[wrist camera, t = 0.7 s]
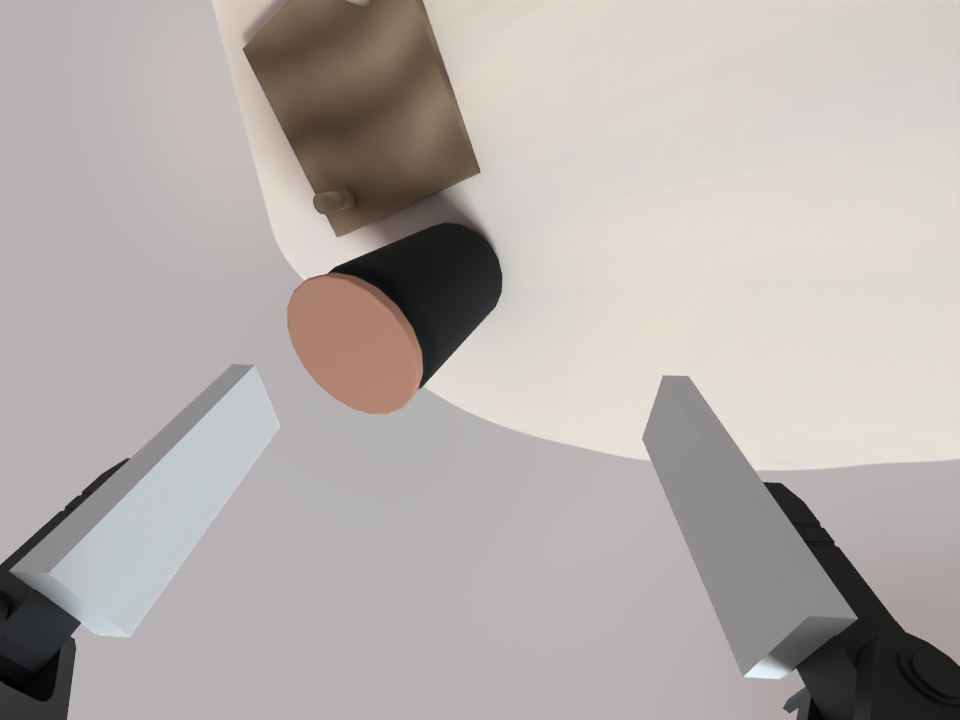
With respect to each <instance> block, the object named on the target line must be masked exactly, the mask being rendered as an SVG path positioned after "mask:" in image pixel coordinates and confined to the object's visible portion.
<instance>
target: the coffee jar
mask: <svg viewBox="0 0 960 720" xmlns="http://www.w3.org/2000/svg"><path fill="white" fill-rule="evenodd" d="M501 292H502V272H501V268H500V264H499V260H498V258H497V256H496V254H495V253H494V251H493V249H492V248H491V246H490V244H489V243H488V242H487V241H485V240H484V239H483V238H482V237H481V236H480V235H479V234H478V233H477V232H475V231H473V230H471V229H469V228H467V227H465V226H463V225H459V224H450V223H443V224H440V225H436V226H432V227H429V228H427V229H425V230H422V231H420V232H417V233H415V234H413V235H410V236H408V237H406V238H403V239H401V240H398V241H396V242H394V243H391V244H389V245H386V246H384V247H382V248H379V249H377V250H375V251H372V252H370V253H367V254H365V255H363V256H360V257H358V258H355V259H353V260H351V261H348V262H346V263H344V264H341V265H339V266H336V267H335V268H334V269H332V270H331V271H330V272H329V273H328V274H324V275H320V276H316V277H312V278H309V279H307V280H306V281H305V282H303V283H302V284H301V285H300V286H299V287H298V288H297V289H295V291H294V292H293V295H292V297H291V300H290V302H289V305H288V330H289V333H290V337H291V340H292V344H293V347H294V349H295V351H296V353H297V355H298V356H299V358H300V360H301V362H302V364H303V365H304V367H305V368H306V369H307V371H308V372H309V373H310V375H311V376H312V377H313V378H314V380H315V381H316V382H317V383H318V384H319V385H320V386H321V387H322V388H323V389H325V390H326V391H327V392H328V393H329V394H330V395H331V396H333V397H334V398H335V399H337V400H339V401H340V402H342V403H344V404H346V405H347V406H349V407H351V408H353V409H356V410H360V411H363V412H366V413H369V414H388V413H390V412H393V411H395V410H398V409H401V408H403V407H404V406H405V405H406V404H407V403H408V401H409V400H410V399H411V398H412V397H413V396H414V395H415V393H416V392H417V390H418V389H420V388H422V387H423V385H424V384H425V383H426V382H427V381H428V380H429V379H430V378H431V377H432V376H433V375H434V373H435V372H436V371H437V370H438V369H439V368H440V367H441V366H442V365H443V364H444V362H445V361H446V360H447V359H448V358H449V357H450V356H451V355H452V354H453V353H454V352H455V350H456V349H457V348H458V347H459V346H460V345H461V344H462V343H463V342H464V341H465V339H466V338H467V337H468V336H469V335H470V334H471V333H472V332H473V331H474V330H475V329H476V327H477V326H478V325H479V324H480V323H481V322H482V321H483V320H484V319H485V318H486V316H487V315H488V314H489V313H490V312H491V311H492V310H493V309H494V308H495V307H496V305H497V302H498V300H499V297H500V295H501Z"/></svg>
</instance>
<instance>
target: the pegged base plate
mask: <svg viewBox="0 0 960 720" xmlns="http://www.w3.org/2000/svg"><path fill="white" fill-rule="evenodd" d="M243 51H244V53H245V55H246V57H247V59H248V61H249V63H250V65H251V67H252V69H253V71H254V73H255V75H256V77H257V79H258V81H259V83H260V85H261V87H262V89H263V91H264V93H265V95H266V97H267V99H268V101H269V103H270V105H271V107H272V109H273V111H274V113H275V115H276V117H277V119H278V121H279V123H280V125H281V127H282V129H283V131H284V133H285V135H286V137H287V139H288V141H289V143H290V145H291V147H292V149H293V151H294V153H295V155H296V157H297V159H298V161H299V163H300V165H301V167H302V169H303V171H304V173H305V175H306V177H307V179H308V181H309V183H310V185H311V187H312V189H313V190H314V192H315V194H316V195H315V196H314V198H313V204H314V207H315V209H316V210H317V211H318V212H319V213H321V214H326V216H327V218H328V220H329V222H330V224H331V226H332V228H333V230H334V232H335V234H336V236H337V237H340V236H343V235H346V234H348V233H350V232H353V231H355V230H357V229H359V228H361V227H363V226H366V225H368V224H370V223H372V222H374V221H376V220H379V219H381V218H383V217H385V216H387V215H389V214H392V213H394V212H396V211H398V210H400V209H402V208H405V207H407V206H409V205H411V204H413V203H415V202H418V201H420V200H422V199H424V198H426V197H428V196H431V195H433V194H435V193H437V192H439V191H442V190H444V189H446V188H448V187H450V186H452V185H455V184H457V183H459V182H461V181H463V180H465V179H468V178H470V177H472V176H474V175H476V174H478V173H481V172H480V169H479V166H478V163H477V160H476V157H475V154H474V151H473V148H472V145H471V142H470V139H469V136H468V133H467V131H466V128H465V125H464V122H463V119H462V116H461V113H460V110H459V107H458V104H457V101H456V98H455V95H454V92H453V89H452V86H451V83H450V80H449V77H448V74H447V71H446V69H445V66H444V63H443V60H442V57H441V54H440V51H439V48H438V45H437V42H436V39H435V36H434V33H433V30H432V27H431V24H430V21H429V18H428V15H427V12H426V9H425V7H424V4H423V1H422V0H290V1H289V2H288V3H287V4H286V5H285V6H284V7H283V8H282V9H281V10H280V11H279V12H278V13H277V14H276V15H275V16H274V17H273V18H272V19H271V21H270V22H269V23H268V24H267V25H266V26H265V27H264V28H263V29H262V30H261V31H260V32H259V33H258V34H257V35H256V36H255V37H254V38H253V39H252V40H251V41H250V42H249V43H248V44H247V45H246V46H245V47H244V48H243Z"/></svg>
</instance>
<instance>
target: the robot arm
mask: <svg viewBox="0 0 960 720" xmlns="http://www.w3.org/2000/svg"><path fill="white" fill-rule="evenodd" d="M279 428H280V424H279V422H278V419H277V417H276V414H275V412H274V409H273V407H272V405H271V402H270V400H269V398H268V395H267V393H266V390H265V388H264V385H263V383H262V381H261V379H260V376H259V374H258V371H257V369H256V366H255V365H235V364H232V365H231V366H230V367H229V368H228V369H227V370H226V371H225V372H224V373H223V374H222V375H221V376H219V378H217V379H216V380H215V381H214V382H213V383H212V384H211V385H210V386H209V387H208V388H207V389H205V390H204V391H203V392H202V393H201V394H200V395H199V396H198V397H197V398H196V399H195V400H194V401H192V402H191V403H190V404H189V405H188V406H187V407H186V408H185V409H184V410H183V411H182V412H180V413H179V414H178V416H176V417H175V418H174V419H173V420H172V421H171V422H170V423H169V424H168V425H166V426H165V427H164V428H163V429H162V430H161V431H160V432H159V433H158V434H157V435H156V436H154V437H153V438H152V439H151V440H150V441H149V442H148V443H147V444H146V445H145V446H144V447H143V448H141V449H140V450H139V451H138V452H137V453H136V454H135V455H134V456H133V457H132V458H129V459H125V460H124V461H122V462H120V463H119V464H117V465H116V466H114V467H112V468H111V469H109V470H107V471H106V472H104V473H103V474H101V475H100V476H99V477H98V478H97V479H96V480H95V481H94V482H92V483H91V484H90V485H89V486H88V487H87V488H86V489H85V490H83V492H82V495H80V496H77V497H76V498H75V499H74V500H72V501H71V502H70V503H69V504H68V505H67V506H66V507H65V510H64V511H60V512H59V513H58V514H57V515H56V516H54V517H53V518H52V519H51V520H50V521H49V522H48V523H47V524H46V525H44V526H43V527H42V528H41V529H40V530H39V531H38V532H37V533H35V534H34V535H33V536H32V537H31V538H30V539H29V540H28V541H27V542H25V543H24V545H22V546H21V547H20V548H19V549H18V550H17V551H15V552H14V553H13V554H12V555H11V556H10V557H9V558H8V559H6V560H5V561H4V562H3V563H2V564H1V565H0V720H67V715H68V707H69V699H70V691H71V683H72V675H73V668H74V660H75V652H76V645H75V639H74V638H72V637H71V635H72V633H73V632H74V631H75V630H76V628H77V627H78V626H79V625H80V624H83V625H84V626H85V627H87V628H88V629H89V630H91V631H92V632H94V633H95V634H96V635H104V636H119V637H130V636H131V635H132V634H133V632H134V631H135V629H136V628H137V627H138V625H139V624H140V622H141V621H142V620H143V618H144V617H145V615H146V614H147V613H148V611H149V610H150V608H151V607H152V605H153V604H154V603H155V601H156V600H157V599H158V597H159V596H160V594H161V593H162V591H163V590H164V589H165V587H166V586H167V584H168V583H169V582H170V580H171V579H172V578H173V576H174V575H175V573H176V572H177V571H178V569H179V568H180V566H181V565H182V563H183V562H184V561H185V559H186V558H187V557H188V555H189V554H190V552H191V551H192V550H193V548H194V546H195V545H196V544H197V542H198V541H199V540H200V538H201V537H202V536H203V534H204V533H205V531H206V530H207V529H208V527H209V526H210V524H211V523H212V521H213V520H214V519H215V517H216V516H217V515H218V513H219V512H220V510H221V509H222V508H223V506H224V505H225V503H226V502H227V500H228V499H229V498H230V496H231V495H232V494H233V492H234V491H235V490H236V488H237V487H238V485H239V484H240V482H241V481H242V480H243V478H244V477H245V476H246V474H247V472H248V471H249V470H250V469H251V467H252V465H253V464H254V463H255V462H256V460H257V459H258V457H259V456H260V455H261V453H262V452H263V450H264V449H265V448H266V446H267V445H268V443H269V442H270V440H271V439H272V437H273V436H274V435H275V434H276V432H277V431H278V429H279ZM642 439H643V442H644V444H645V446H646V449H647V451H648V454H649V456H650V458H651V461H652V463H653V465H654V468H655V470H656V472H657V475H658V477H659V480H660V482H661V484H662V487H663V489H664V491H665V494H666V496H667V498H668V501H669V503H670V505H671V508H672V510H673V512H674V515H675V517H676V520H677V522H678V524H679V526H680V529H681V531H682V534H683V536H684V538H685V541H686V543H687V545H688V548H689V550H690V553H691V555H692V557H693V560H694V562H695V564H696V567H697V569H698V572H699V574H700V576H701V579H702V581H703V583H704V586H705V588H706V590H707V593H708V595H709V597H710V600H711V602H712V605H713V607H714V609H715V612H716V614H717V616H718V619H719V621H720V624H721V626H722V628H723V631H724V633H725V635H726V638H727V640H728V642H729V645H730V647H731V649H732V652H733V654H734V657H735V659H736V661H737V664H738V666H739V668H740V671H741V673H742V675H743V677H754V678H769V679H783V678H784V677H786V676H787V675H788V674H789V673H791V672H792V671H793V670H795V668H797V670H798V672H799V674H800V676H801V678H802V680H803V681H804V684H805V685H806V687H804V688H803V689H802V690H800V691H799V692H797V693H796V694H795V695H793V696H792V697H791V698H789V699H788V700H787V702H786V704H785V706H784V707H783V709H785V710H786V711H787V712H789V713H791V712H792V711H794V710H795V709H797V708H798V707H799V708H798V714H797V720H960V666H959V665H957V664H956V663H955V662H954V661H953V660H952V659H951V658H950V657H949V656H947V655H946V654H944V653H943V652H941V651H940V650H938V649H937V648H936V647H934V646H933V645H931V644H930V643H928V642H926V641H924V640H922V639H919V638H917V637H915V636H913V635H911V634H909V633H906V632H905V631H904V630H903V629H902V627H901V626H900V625H899V624H898V623H897V622H896V621H895V619H894V618H893V617H892V616H891V614H890V613H889V612H888V610H887V609H886V608H885V607H884V605H883V604H882V603H881V601H880V600H879V599H878V597H877V596H876V595H875V594H874V592H873V591H872V590H871V588H870V587H869V586H868V585H867V583H866V582H865V581H864V579H863V578H862V577H861V576H860V574H859V573H858V572H857V570H856V569H855V568H854V566H853V565H852V564H851V562H850V561H849V560H848V559H847V557H846V556H845V555H844V553H843V552H842V551H841V549H840V548H839V547H836V546H835V544H834V540H833V539H832V538H831V537H830V535H829V534H828V533H827V531H826V530H825V529H824V528H821V526H820V522H819V521H818V520H817V519H816V517H815V516H814V514H813V513H812V512H811V511H810V510H809V508H808V507H807V505H806V504H805V503H804V502H803V501H802V500H801V499H800V498H798V497H797V496H796V495H795V494H793V493H792V492H791V491H790V490H789V489H787V488H786V487H785V486H784V485H783V484H781V483H768V482H762V481H761V479H760V478H759V476H758V475H757V474H756V472H755V471H754V469H753V468H752V466H751V465H750V464H749V462H748V461H747V459H746V458H745V456H744V455H743V454H742V452H741V451H740V449H739V448H738V446H737V445H736V444H735V442H734V441H733V439H732V438H731V436H730V435H729V434H728V432H727V431H726V429H725V428H724V426H723V425H722V424H721V422H720V421H719V419H718V418H717V416H716V415H715V414H714V412H713V411H712V409H711V408H710V406H709V405H708V404H707V402H706V401H705V399H704V398H703V396H702V395H701V394H700V392H699V391H698V389H697V388H696V386H695V385H694V384H693V382H692V381H691V379H690V378H689V376H663V377H662V380H661V383H660V386H659V390H658V393H657V396H656V399H655V402H654V405H653V408H652V411H651V414H650V417H649V420H648V423H647V426H646V429H645V432H644V435H643V438H642Z"/></svg>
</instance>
